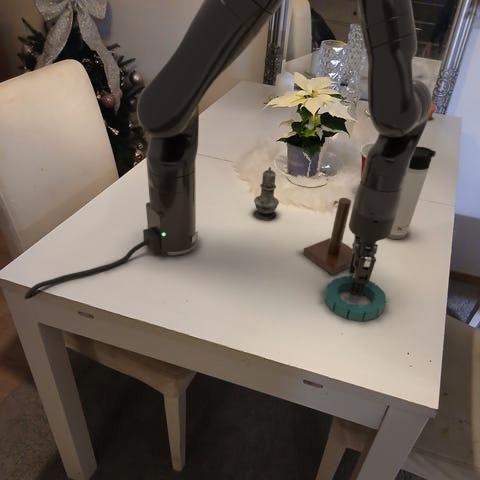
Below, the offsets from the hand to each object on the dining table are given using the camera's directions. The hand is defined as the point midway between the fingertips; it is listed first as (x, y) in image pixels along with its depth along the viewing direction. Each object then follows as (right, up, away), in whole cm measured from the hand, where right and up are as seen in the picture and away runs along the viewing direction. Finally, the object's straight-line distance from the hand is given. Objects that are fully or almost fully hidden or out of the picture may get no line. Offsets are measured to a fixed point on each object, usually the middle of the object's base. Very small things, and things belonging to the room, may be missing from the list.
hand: (354, 283), depth 94 cm
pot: (+44, +67, +81) cm, 114 cm away
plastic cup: (+12, +26, +32) cm, 42 cm away
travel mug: (+13, +13, +18) cm, 26 cm away
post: (-3, +6, +8) cm, 11 cm away
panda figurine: (-4, +32, +37) cm, 49 cm away
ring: (-1, -4, -3) cm, 5 cm away
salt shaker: (-17, +18, +21) cm, 32 cm away
